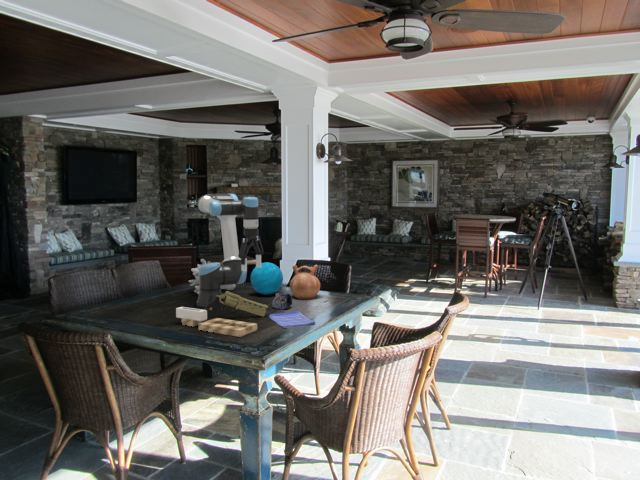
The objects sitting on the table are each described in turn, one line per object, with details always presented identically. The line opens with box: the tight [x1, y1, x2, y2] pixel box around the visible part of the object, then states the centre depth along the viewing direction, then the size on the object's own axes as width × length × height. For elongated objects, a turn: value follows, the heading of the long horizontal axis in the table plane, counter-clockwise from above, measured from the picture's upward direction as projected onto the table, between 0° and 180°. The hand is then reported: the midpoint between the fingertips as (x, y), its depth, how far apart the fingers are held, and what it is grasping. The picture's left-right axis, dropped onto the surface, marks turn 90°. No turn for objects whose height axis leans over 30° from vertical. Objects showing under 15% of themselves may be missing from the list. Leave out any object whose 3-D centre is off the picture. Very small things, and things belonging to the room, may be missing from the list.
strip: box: [175, 306, 208, 326], centre depth 256 cm, size 16×4×7 cm, turn 61°
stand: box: [181, 319, 198, 327], centre depth 256 cm, size 7×6×3 cm
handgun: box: [204, 290, 269, 321], centre depth 269 cm, size 4×30×16 cm, turn 104°
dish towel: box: [268, 310, 316, 329], centre depth 263 cm, size 17×24×3 cm
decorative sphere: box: [250, 261, 284, 296], centre depth 327 cm, size 20×20×20 cm
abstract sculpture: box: [188, 258, 236, 296], centre depth 336 cm, size 23×23×30 cm
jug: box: [289, 264, 321, 300], centre depth 319 cm, size 18×18×20 cm
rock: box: [272, 292, 293, 310], centre depth 292 cm, size 11×10×10 cm
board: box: [197, 317, 258, 338], centre depth 246 cm, size 24×13×3 cm, turn 61°
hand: (251, 269), depth 272 cm, fingers open, 13 cm apart
